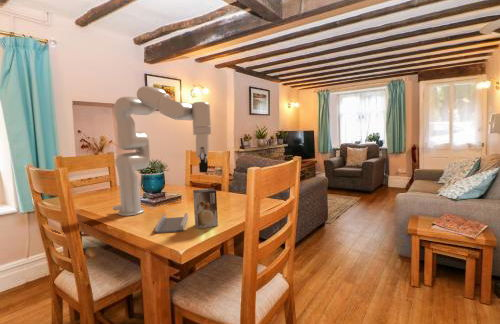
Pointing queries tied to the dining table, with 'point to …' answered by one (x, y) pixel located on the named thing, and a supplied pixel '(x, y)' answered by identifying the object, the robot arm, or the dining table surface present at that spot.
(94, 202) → the dining table surface
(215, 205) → the coffee box
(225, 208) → the dining table surface
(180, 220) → the floor track
